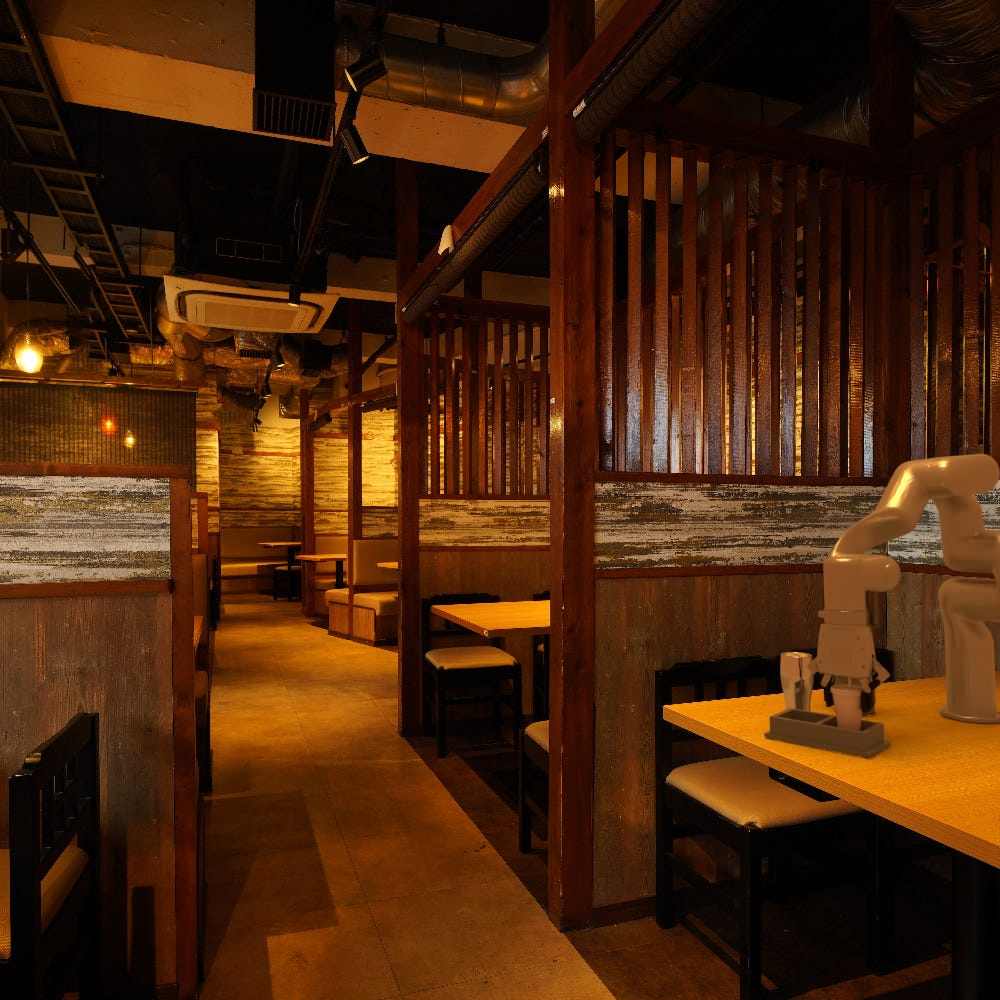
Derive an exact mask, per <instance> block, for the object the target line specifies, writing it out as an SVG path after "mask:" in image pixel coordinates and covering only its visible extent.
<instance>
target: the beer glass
mask: <svg viewBox="0 0 1000 1000" xmlns="http://www.w3.org/2000/svg"><path fill="white" fill-rule="evenodd" d="M812 660H813V655H812V654H810V653H807V652H797V651H790V652H789V651H788V652H787V651H786V652H782V653H780V667H779V668H780V674H779V675H780V680H781V683H780V684H781V689H782V692H783V698H784V710H787V709H789V708H794V709H800V710H806V711H812V710H811V702H812V694H813V687H814V677H815V675H814V674H813V673H812V672H811V671H810V670H809V669H808V667H807V665H808V664H809V663H810V662H811V661H812Z"/></svg>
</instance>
